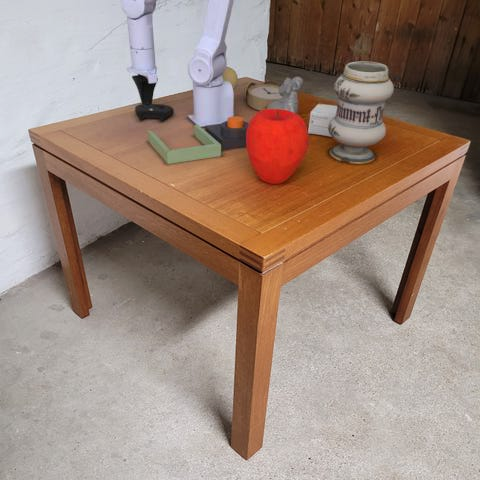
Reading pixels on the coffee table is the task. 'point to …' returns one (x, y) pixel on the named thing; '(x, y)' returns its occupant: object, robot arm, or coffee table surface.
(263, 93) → the alarm clock
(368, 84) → the apothecary jar
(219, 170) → the coffee table surface
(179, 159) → the dock
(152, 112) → the game controller
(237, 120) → the button
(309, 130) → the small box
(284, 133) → the apple
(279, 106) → the figurine
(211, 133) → the push button box
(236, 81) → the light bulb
